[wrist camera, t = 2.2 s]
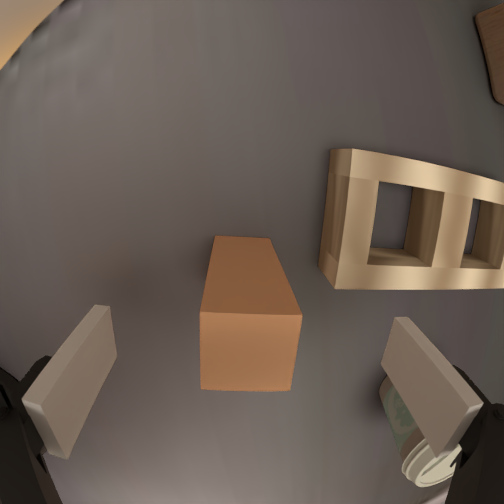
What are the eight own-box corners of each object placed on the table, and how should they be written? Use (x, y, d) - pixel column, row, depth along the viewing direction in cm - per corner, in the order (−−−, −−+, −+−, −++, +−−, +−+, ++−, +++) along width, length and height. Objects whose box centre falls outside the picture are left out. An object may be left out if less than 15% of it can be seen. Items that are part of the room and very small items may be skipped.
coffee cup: (433, 337, 28) (499, 409, 16) (435, 389, 30) (484, 457, 19) (360, 373, 28) (408, 465, 17) (372, 421, 31) (409, 500, 19)
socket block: (317, 265, 25) (334, 288, 20) (330, 149, 22) (352, 148, 18) (479, 271, 26) (507, 287, 22) (495, 183, 23) (527, 190, 19)
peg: (213, 285, 25) (200, 389, 13) (215, 235, 23) (199, 311, 12) (264, 287, 25) (289, 390, 13) (269, 238, 24) (302, 315, 12)
